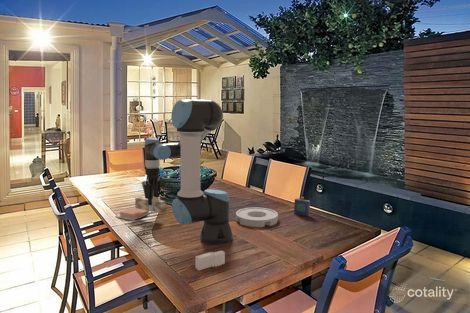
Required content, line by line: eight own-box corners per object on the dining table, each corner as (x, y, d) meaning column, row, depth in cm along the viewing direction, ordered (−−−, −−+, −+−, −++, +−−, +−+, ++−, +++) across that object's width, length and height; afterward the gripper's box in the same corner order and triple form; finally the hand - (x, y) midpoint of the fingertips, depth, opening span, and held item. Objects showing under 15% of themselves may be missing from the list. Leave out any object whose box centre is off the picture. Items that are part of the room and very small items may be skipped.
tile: (148, 210, 200) (132, 207, 205) (136, 215, 191) (120, 212, 196) (148, 214, 200) (132, 211, 205) (137, 219, 191) (120, 216, 196)
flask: (310, 215, 202) (310, 197, 201) (308, 216, 200) (309, 198, 198) (294, 213, 207) (295, 195, 205) (293, 214, 204) (293, 196, 203)
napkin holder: (190, 273, 133) (190, 259, 132) (194, 260, 144) (194, 247, 143) (230, 274, 132) (230, 260, 131) (231, 261, 144) (231, 248, 143)
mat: (152, 212, 205) (152, 211, 205) (133, 220, 191) (133, 219, 191) (134, 209, 211) (134, 208, 211) (115, 216, 196) (115, 215, 196)
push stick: (165, 211, 191) (165, 201, 190) (161, 213, 188) (161, 202, 187) (139, 206, 198) (138, 196, 197) (135, 208, 196) (135, 197, 195)
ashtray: (272, 230, 179) (272, 222, 179) (229, 224, 187) (229, 217, 186) (281, 216, 201) (281, 209, 201) (243, 212, 209) (243, 205, 208)
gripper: (156, 164, 197) (157, 204, 201) (136, 169, 183) (138, 212, 186) (167, 165, 194) (167, 206, 198) (148, 170, 180) (149, 214, 183)
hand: (153, 209), depth 192 cm, fingers closed on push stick, 3 cm apart
